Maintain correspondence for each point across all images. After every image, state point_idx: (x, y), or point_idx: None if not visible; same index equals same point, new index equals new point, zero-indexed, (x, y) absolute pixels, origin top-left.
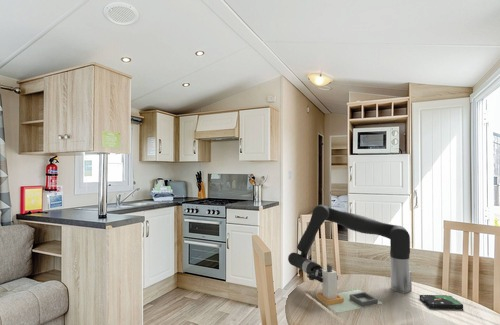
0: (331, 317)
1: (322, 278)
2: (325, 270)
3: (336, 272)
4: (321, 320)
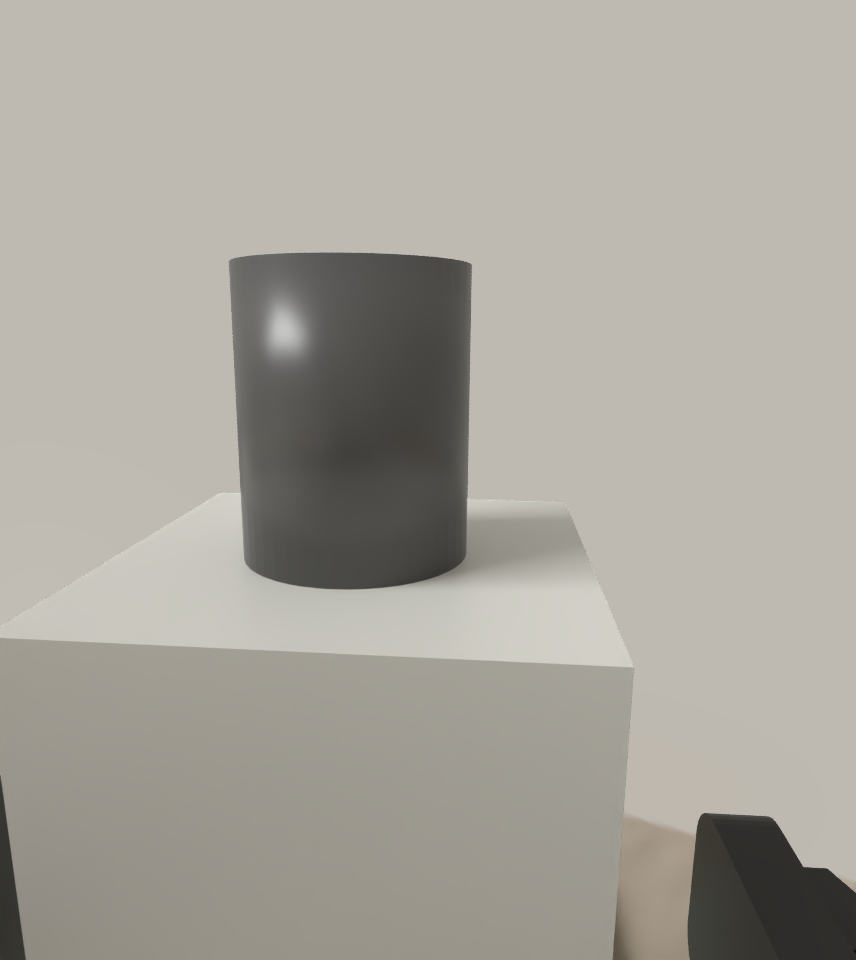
0: (682, 883)
1: (710, 817)
2: (474, 605)
3: (238, 501)
4: (850, 881)
